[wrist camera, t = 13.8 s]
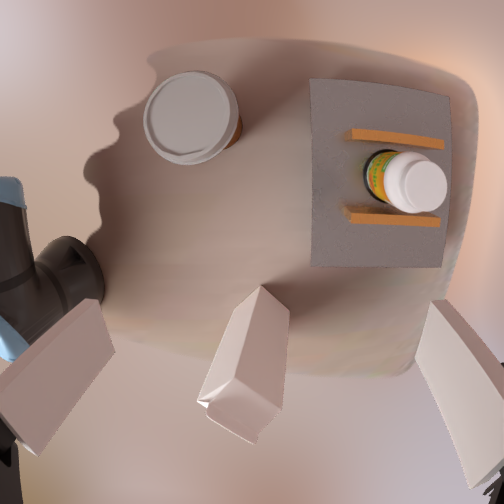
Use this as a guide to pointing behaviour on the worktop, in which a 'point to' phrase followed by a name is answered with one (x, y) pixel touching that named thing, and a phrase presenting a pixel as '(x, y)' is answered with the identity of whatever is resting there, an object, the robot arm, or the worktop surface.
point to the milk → (249, 367)
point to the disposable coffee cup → (192, 118)
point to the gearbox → (356, 166)
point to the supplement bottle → (407, 181)
